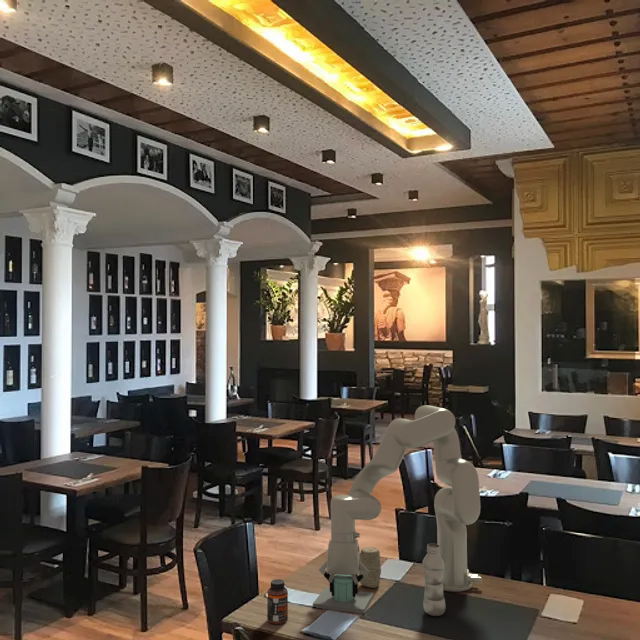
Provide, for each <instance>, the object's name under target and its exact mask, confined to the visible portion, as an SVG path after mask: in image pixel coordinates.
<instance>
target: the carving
mask: <svg viewBox="0 0 640 640" xmlns="http://www.w3.org/2000/svg"><path fill="white" fill-rule="evenodd" d="M380 553H381V551H380V549H379V548H378V547H373V546H365V547H363V548H361V550H360V562H361V563H362V564H363V565H364V566H365V567H366V568H367V569H368V574H367V575H365V576H364V577H363V579H361V580H360V581H359V583H360V585H362V586H364V587H367V588H377V587H379V586H380V582H381V574H382V565H381V564H382V562H381V554H380ZM362 572H363V571H362V570H361V569H359V573H358V575H359V574H360V573H362Z"/></svg>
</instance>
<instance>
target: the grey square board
mask: <svg viewBox="0 0 640 640" xmlns="http://www.w3.org/2000/svg"><path fill="white" fill-rule="evenodd" d="M374 593H375V592H370V591H359V590H358V594H356V596H355V597H354V599H353V600H352V601H349V602H338V601H337V600H335V599H334V596H332V592H330V587H324V589H323V590H322V591H321V592H320V594H318V596H317V597H316V598H315V600H314V601H313V603H312V608H313V607H316V608H315V609H321V608H322V609H323V610H332V611H340V612H347V613H354V614H355V613H356V614H365V612H366V611H367V610H368V608H369V606H370V604H371V602H372V601H373V599H374V597H375V596H374V595H375V594H374Z"/></svg>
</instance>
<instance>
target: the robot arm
mask: <svg viewBox="0 0 640 640" xmlns="http://www.w3.org/2000/svg"><path fill="white" fill-rule="evenodd" d="M414 418H415V419H414V420H412V419H407V418H398V417H397V418H395V419H393V420H391V422H390V423H389V425H388V427H387V428H386V431H385V432H384V435H383V436H382V439H381V441H380V443H379V445H378V447H377V449H376V452H375V453H374V455H373V457H372V459H371V460H370V461H369V462H367V464H366V465H365V466H363V468H362V469H360V471H359V472H358V474H357V476H356V477H355V479H354V480H353V482H352V484H351V486H350V489H349V491H348V494H337V495H334V496H332V497H331V500H330V539H328V546H327V554H326V555H327V557H326V561H325V562H324V563H323V564H322V565H321V566H320V567H319V569H318V571H319V572H320V573H321V574H322V575H323V578H325V579H326V580H327V581H328V583H329V588H330V592H332V596H334V576H335V575H337V574H340V575H351V576H352V578H353V581H354V583H353V597H355V596H356V594H358V591H359V583H360V580H361V579H363V577H364V576H365V575H367V574H368V569H367V568H366V567H365V566H364V565H363V564H362V563H361V562H360V552H361V550H360V545H359V540H358V538H361V533H360V532H357V531H356V520H360V521H371V520H372V521H373V520H375V519H377V518H378V517H379V515H380V514H381V513H382V504H381V501H380V500H379V499H378V498H377V497H375V496H373V495H372V492H373V491H374V489H375V487H376V485H377V484H378V483H379V482H380V481H381V480H382V479H383V478H385V477H387V476H390V475H392V474H394V473H396V472H397V471H398V469H399V467H400V465H401V463H402V460H403V459H404V456H405V454H406V452H407V450H408V449H417V448H420V447H423V446H425V445H428V444H430V443H432V445H433V452H434V466H435V467H434V468H435V475H436V478H437V479H438V480H439V481H440V483H442V484H444V485H447V486H446V487H443V488H440V489H439V490H438V491H437V492H436V494H435V495H434V502H433V503H434V504H433V505H434V512H435V518H436V526H437V527H436V529H437V532H436V533H437V534H436V536H437V539H436V540H437V544H438V545H439V546H440V553H439V555H440V556H441V557H442V559H443V561H444V575H443V591H446V592H451V593H452V592H456V593H457V592H458V593H460V592H466V591H468V590H470V589H472V587H473V583H475V584H482V577H481V576H479V575H478V574H472V573H470V570H469V569H468V551H467V550H468V549H467V548H468V546H467V545H468V543H467V542H468V541H467V537H468V536H467V535H468V533H467V526H469V525H472V524H474V523H476V521H477V520H478V519H479V517H480V514H481V495H480V493H481V492H480V481H479V474H478V471H477V469H476V467H475V466H474V464H473V463H472V462H470V461H468V460H466V459H463V458H462V452H461V446H460V438H459V435H458V432H457V430H456V428H455V427H456V426H455V425H456V417H455V415H454V414H453V413H452V411H450V410H449V409H446V408H443V407H438V406H433V405H428V404H427V405H426V404H425V405H420V406H419V407H418V408H416V410H415V413H414ZM466 525H467V526H466ZM359 569H361V570H362V571H363V572H362V573H360V574H359Z"/></svg>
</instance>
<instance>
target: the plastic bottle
mask: <svg viewBox="0 0 640 640" xmlns="http://www.w3.org/2000/svg"><path fill="white" fill-rule="evenodd" d="M426 548H427V549H426V552H427V553H426V555H425V556H424V558H423V560H422V570H423V575H424V595H423V596H424V597H423V601H422V602H423V603H422V605H423V611H424V612H425V613H426V614H427V615H430V616H433V617H438V616H439V617H441V616H442V615H444V613H445V611H446V607H447V606H446V599H445V595H444V594H445V593H444V590H443V575H444V561H443V559H442V557H441V556H440V555H439V553H440V546H439V545H438V543H428V544H427V546H426Z"/></svg>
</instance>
